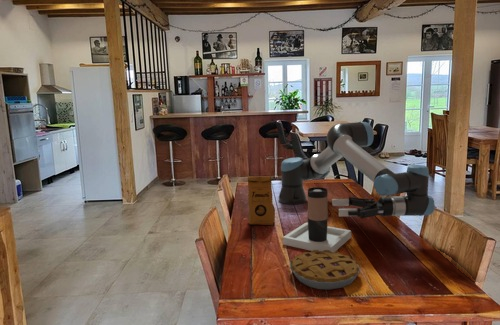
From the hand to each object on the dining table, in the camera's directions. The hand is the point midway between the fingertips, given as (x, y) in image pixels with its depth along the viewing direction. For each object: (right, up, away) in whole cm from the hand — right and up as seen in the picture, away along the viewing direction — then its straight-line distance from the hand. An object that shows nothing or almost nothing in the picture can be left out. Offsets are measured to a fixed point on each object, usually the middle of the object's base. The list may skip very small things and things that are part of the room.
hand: (335, 207), depth 145 cm
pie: (-9, -19, -25) cm, 33 cm away
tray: (-6, -14, +3) cm, 15 cm away
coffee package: (-28, -11, +26) cm, 40 cm away
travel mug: (-6, -13, +3) cm, 15 cm away
